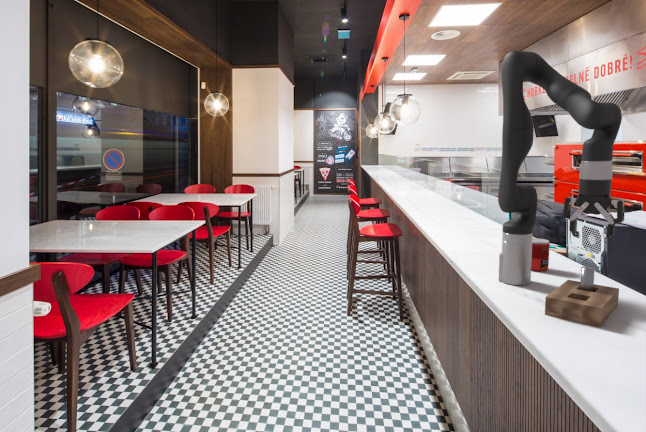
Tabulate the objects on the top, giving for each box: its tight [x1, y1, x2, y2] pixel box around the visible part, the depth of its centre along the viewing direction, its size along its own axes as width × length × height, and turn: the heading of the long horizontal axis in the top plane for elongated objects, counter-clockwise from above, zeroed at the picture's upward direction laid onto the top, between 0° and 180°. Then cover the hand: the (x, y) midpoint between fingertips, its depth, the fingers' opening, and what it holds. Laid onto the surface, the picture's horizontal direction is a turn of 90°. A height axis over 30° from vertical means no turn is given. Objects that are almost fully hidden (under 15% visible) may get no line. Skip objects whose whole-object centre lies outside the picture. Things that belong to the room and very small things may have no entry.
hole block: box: [544, 279, 620, 328], centre depth 117 cm, size 13×20×5 cm, turn 135°
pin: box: [579, 266, 595, 292], centre depth 120 cm, size 3×3×10 cm
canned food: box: [531, 237, 551, 273], centre depth 157 cm, size 8×8×11 cm
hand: (591, 235), depth 118 cm, fingers open, 8 cm apart
